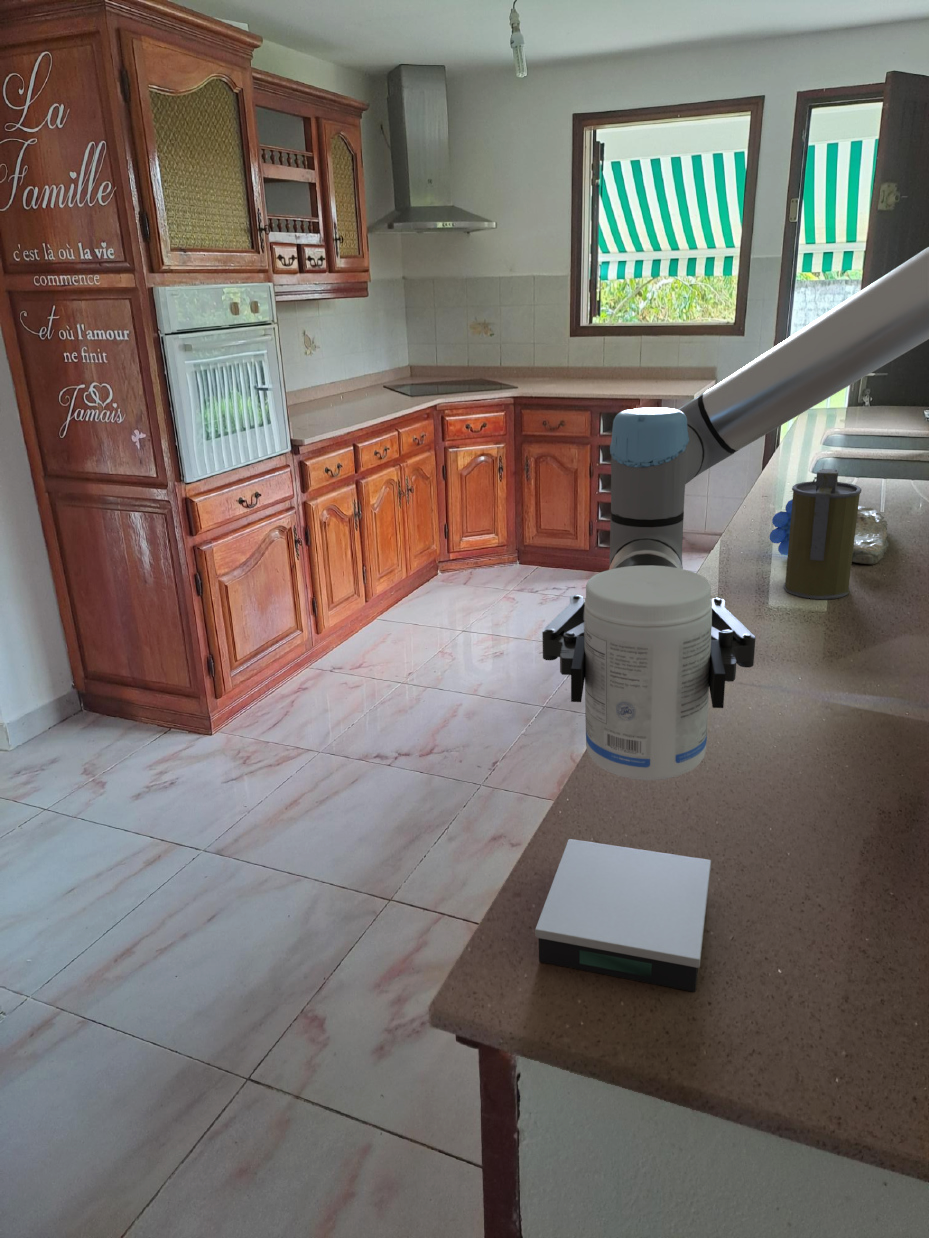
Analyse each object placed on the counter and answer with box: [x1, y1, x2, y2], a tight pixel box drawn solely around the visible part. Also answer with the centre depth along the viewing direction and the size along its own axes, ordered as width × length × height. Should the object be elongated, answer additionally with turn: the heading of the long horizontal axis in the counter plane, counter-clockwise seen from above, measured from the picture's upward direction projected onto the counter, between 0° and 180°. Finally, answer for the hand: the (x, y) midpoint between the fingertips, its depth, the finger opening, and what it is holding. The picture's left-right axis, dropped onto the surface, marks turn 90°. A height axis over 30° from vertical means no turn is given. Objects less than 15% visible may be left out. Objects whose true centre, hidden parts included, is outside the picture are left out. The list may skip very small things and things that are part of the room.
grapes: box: [769, 498, 793, 556], centre depth 164 cm, size 12×7×12 cm, turn 71°
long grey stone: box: [852, 505, 890, 566], centre depth 173 cm, size 35×5×10 cm
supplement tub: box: [584, 565, 712, 781], centre depth 69 cm, size 10×10×15 cm
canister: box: [783, 468, 862, 601], centre depth 144 cm, size 11×10×20 cm
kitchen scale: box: [534, 838, 712, 993], centre depth 72 cm, size 12×12×3 cm
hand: (646, 688), depth 64 cm, fingers closed on supplement tub, 9 cm apart
